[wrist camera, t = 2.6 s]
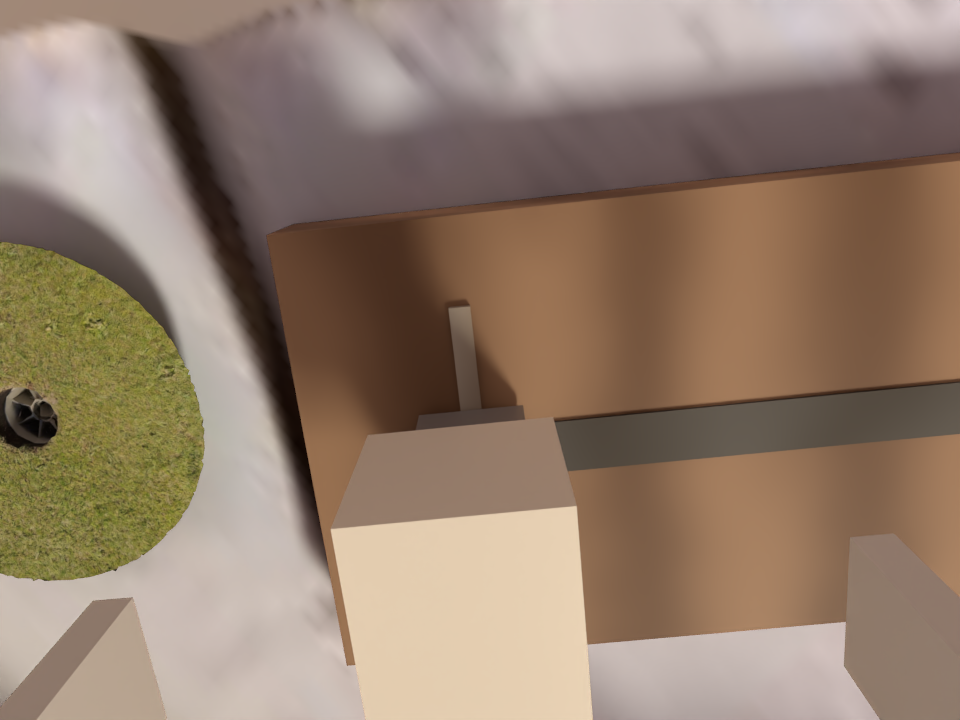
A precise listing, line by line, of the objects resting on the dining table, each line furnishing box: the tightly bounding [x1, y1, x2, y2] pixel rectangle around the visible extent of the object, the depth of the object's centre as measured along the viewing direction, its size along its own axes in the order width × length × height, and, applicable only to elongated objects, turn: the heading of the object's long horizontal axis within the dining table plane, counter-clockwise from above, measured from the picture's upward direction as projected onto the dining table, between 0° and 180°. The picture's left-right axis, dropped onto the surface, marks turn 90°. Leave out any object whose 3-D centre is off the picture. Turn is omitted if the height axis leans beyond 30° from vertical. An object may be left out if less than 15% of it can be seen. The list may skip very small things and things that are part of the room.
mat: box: [0, 242, 204, 581], centre depth 23 cm, size 11×11×2 cm
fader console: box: [266, 152, 960, 666], centre depth 22 cm, size 32×14×3 cm, turn 96°
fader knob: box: [331, 405, 593, 720], centre depth 17 cm, size 4×6×9 cm, turn 6°
